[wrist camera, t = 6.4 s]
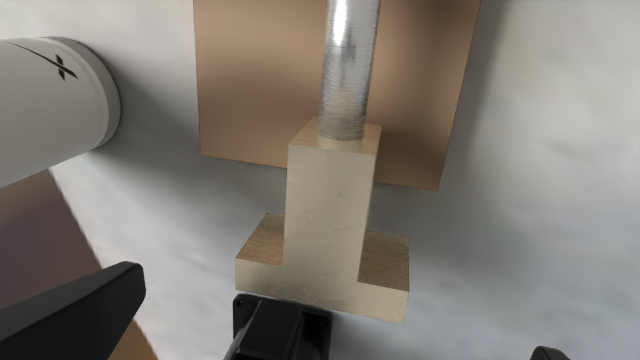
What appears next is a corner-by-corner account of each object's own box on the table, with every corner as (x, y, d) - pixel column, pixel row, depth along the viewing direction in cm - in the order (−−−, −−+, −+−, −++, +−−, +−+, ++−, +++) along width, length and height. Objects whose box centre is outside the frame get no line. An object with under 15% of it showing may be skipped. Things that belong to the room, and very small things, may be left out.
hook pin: (402, 265, 19) (402, 324, 15) (266, 239, 20) (235, 289, 16) (469, -64, 13) (494, -95, 10) (274, -74, 14) (230, -106, 11)
